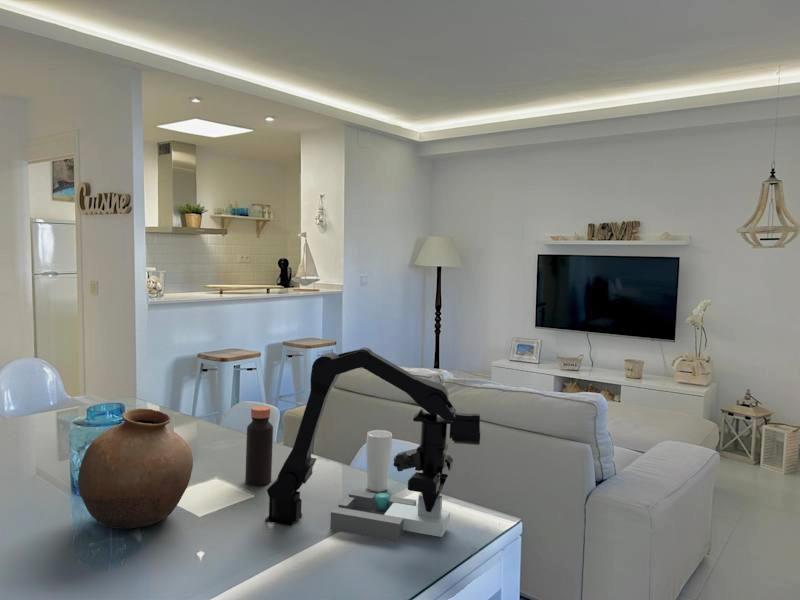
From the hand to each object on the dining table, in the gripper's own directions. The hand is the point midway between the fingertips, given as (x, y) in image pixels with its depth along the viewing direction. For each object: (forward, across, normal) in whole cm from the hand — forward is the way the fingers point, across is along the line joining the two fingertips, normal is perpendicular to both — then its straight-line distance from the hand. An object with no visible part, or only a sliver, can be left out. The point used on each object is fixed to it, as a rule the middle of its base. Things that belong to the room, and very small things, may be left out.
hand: (429, 509), depth 133 cm
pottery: (+6, +20, -62) cm, 65 cm away
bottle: (+6, -12, -50) cm, 52 cm away
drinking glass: (+6, -20, -19) cm, 28 cm away
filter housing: (+5, 0, -13) cm, 14 cm away
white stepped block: (+4, 0, -3) cm, 5 cm away
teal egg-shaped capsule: (+4, -6, -13) cm, 15 cm away
